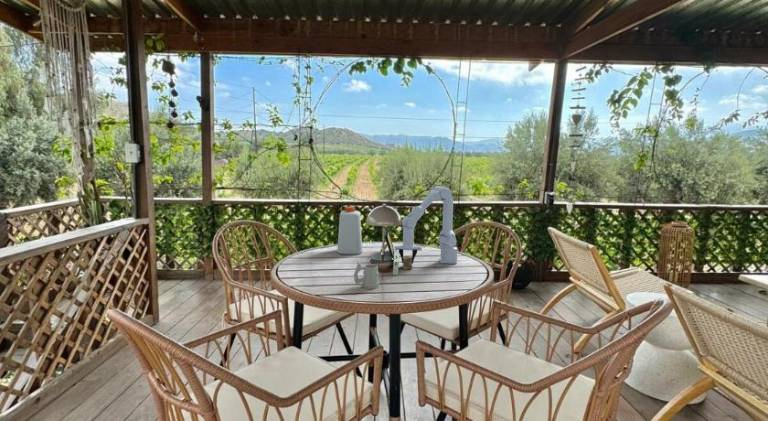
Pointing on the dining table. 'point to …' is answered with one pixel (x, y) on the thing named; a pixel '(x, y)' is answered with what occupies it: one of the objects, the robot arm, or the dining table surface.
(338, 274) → the dining table surface
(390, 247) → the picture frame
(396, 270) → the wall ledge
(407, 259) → the frame block
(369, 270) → the mug
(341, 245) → the plastic bottle
